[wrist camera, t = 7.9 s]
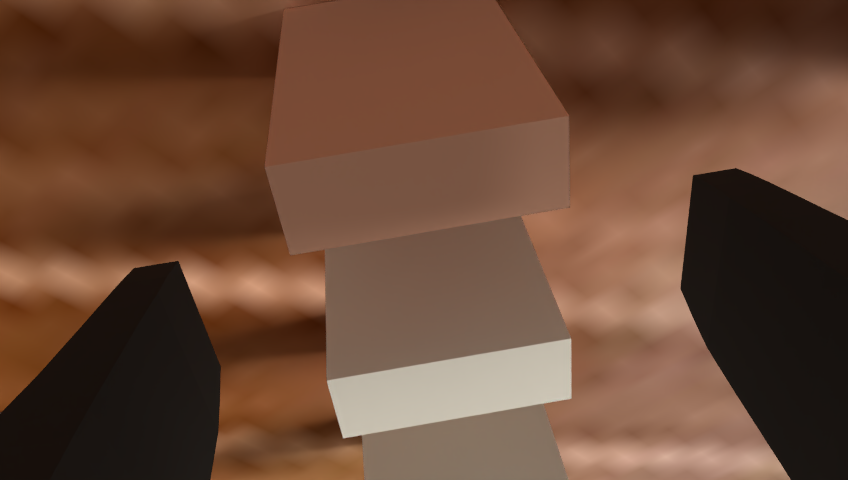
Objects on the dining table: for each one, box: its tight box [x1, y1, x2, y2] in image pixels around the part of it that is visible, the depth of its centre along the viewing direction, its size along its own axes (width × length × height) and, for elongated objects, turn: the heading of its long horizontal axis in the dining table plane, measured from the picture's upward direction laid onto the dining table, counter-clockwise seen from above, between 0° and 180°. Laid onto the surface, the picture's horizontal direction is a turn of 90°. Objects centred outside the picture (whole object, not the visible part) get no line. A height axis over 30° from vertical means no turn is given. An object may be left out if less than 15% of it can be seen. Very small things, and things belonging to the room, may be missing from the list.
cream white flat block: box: [325, 216, 571, 438], centre depth 19 cm, size 2×5×8 cm, turn 97°
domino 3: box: [362, 404, 568, 480], centre depth 21 cm, size 2×5×8 cm, turn 97°
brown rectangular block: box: [265, 0, 570, 255], centre depth 16 cm, size 2×5×8 cm, turn 97°
